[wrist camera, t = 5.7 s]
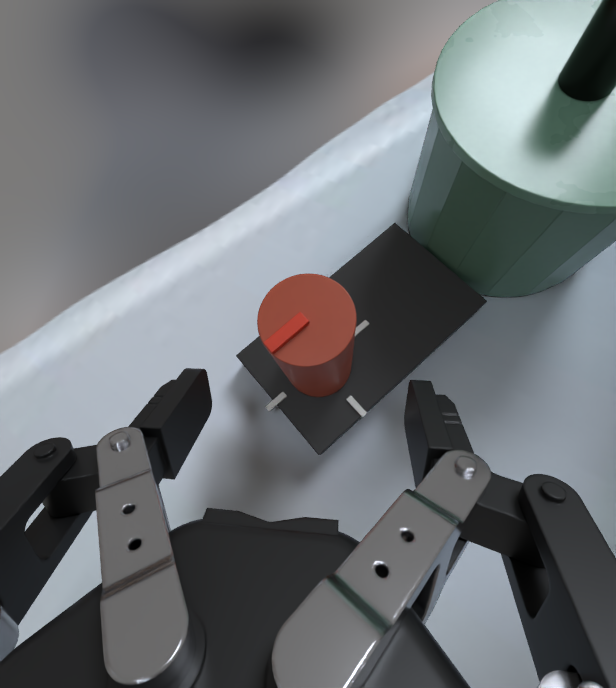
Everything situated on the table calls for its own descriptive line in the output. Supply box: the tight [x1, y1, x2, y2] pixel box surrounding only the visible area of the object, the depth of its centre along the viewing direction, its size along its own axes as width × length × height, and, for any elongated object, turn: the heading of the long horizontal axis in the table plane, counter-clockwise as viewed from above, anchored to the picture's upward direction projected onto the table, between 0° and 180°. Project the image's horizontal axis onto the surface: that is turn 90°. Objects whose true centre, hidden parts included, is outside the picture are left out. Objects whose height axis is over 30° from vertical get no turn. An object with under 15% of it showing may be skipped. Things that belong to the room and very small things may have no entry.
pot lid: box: [431, 0, 616, 214], centre depth 15 cm, size 14×14×5 cm
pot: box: [408, 110, 616, 297], centre depth 21 cm, size 13×13×10 cm
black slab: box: [236, 223, 487, 455], centre depth 23 cm, size 15×8×2 cm, turn 131°
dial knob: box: [257, 274, 357, 397], centre depth 18 cm, size 4×4×8 cm
